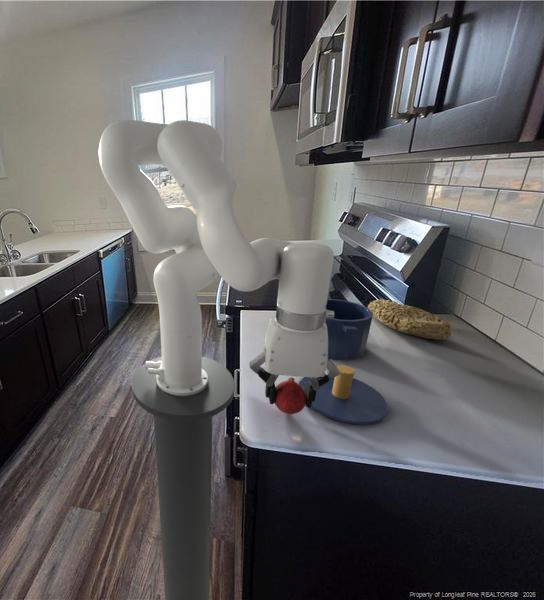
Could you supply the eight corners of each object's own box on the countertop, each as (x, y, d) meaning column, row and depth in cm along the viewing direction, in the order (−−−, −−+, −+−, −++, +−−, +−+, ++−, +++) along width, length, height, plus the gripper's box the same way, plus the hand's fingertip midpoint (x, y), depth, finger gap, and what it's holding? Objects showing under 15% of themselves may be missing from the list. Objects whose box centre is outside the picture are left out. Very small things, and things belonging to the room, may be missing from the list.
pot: (311, 363, 77) (317, 324, 73) (294, 327, 95) (298, 295, 91) (379, 368, 74) (389, 327, 70) (348, 329, 92) (355, 296, 88)
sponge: (359, 319, 100) (401, 337, 81) (366, 295, 99) (411, 307, 79) (404, 327, 99) (457, 346, 79) (411, 302, 97) (468, 316, 78)
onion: (307, 424, 59) (313, 389, 56) (274, 422, 60) (278, 387, 57) (298, 404, 64) (303, 370, 61) (269, 402, 65) (272, 369, 62)
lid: (307, 421, 60) (312, 390, 57) (291, 374, 74) (294, 347, 71) (403, 431, 56) (413, 398, 53) (367, 379, 70) (373, 351, 68)
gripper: (347, 309, 56) (332, 393, 62) (245, 306, 60) (241, 385, 66) (364, 328, 49) (345, 420, 56) (248, 323, 53) (243, 409, 60)
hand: (288, 400), depth 61 cm, fingers closed on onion, 5 cm apart
